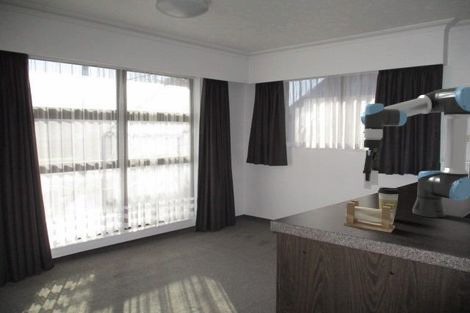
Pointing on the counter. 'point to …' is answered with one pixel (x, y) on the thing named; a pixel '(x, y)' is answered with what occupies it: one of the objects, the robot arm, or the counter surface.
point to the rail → (370, 214)
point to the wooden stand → (383, 226)
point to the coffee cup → (388, 197)
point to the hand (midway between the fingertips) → (371, 186)
